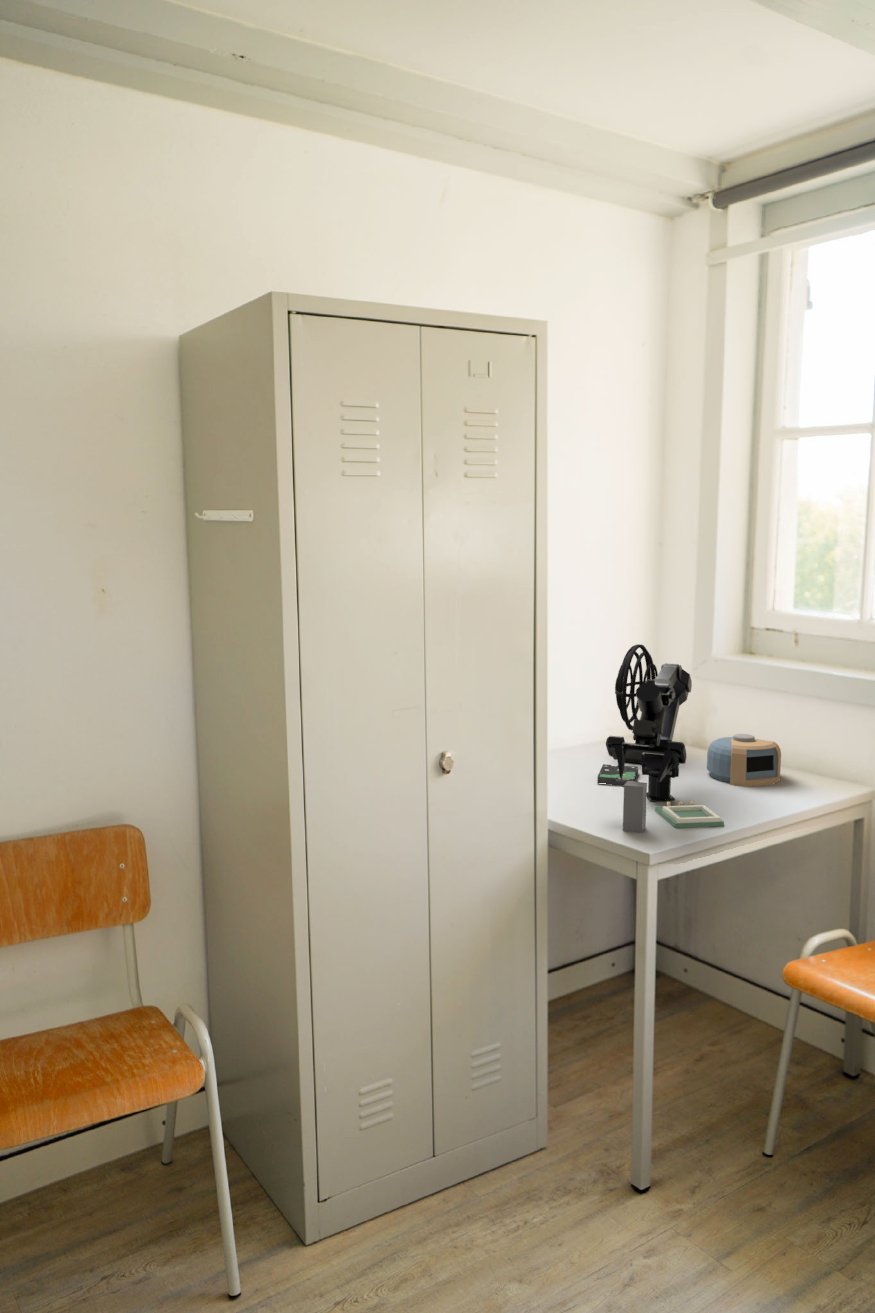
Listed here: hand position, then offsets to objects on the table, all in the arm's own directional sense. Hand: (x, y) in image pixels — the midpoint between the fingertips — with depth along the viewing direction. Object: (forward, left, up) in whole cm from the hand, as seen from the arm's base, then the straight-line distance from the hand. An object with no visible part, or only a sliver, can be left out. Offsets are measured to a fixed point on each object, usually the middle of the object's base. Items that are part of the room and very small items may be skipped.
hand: (639, 779), depth 227 cm
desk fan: (-65, +24, -11) cm, 70 cm away
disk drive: (-41, +8, -12) cm, 44 cm away
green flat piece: (-3, +14, -11) cm, 18 cm away
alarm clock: (-39, +44, -11) cm, 60 cm away
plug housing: (+4, -2, -11) cm, 12 cm away
